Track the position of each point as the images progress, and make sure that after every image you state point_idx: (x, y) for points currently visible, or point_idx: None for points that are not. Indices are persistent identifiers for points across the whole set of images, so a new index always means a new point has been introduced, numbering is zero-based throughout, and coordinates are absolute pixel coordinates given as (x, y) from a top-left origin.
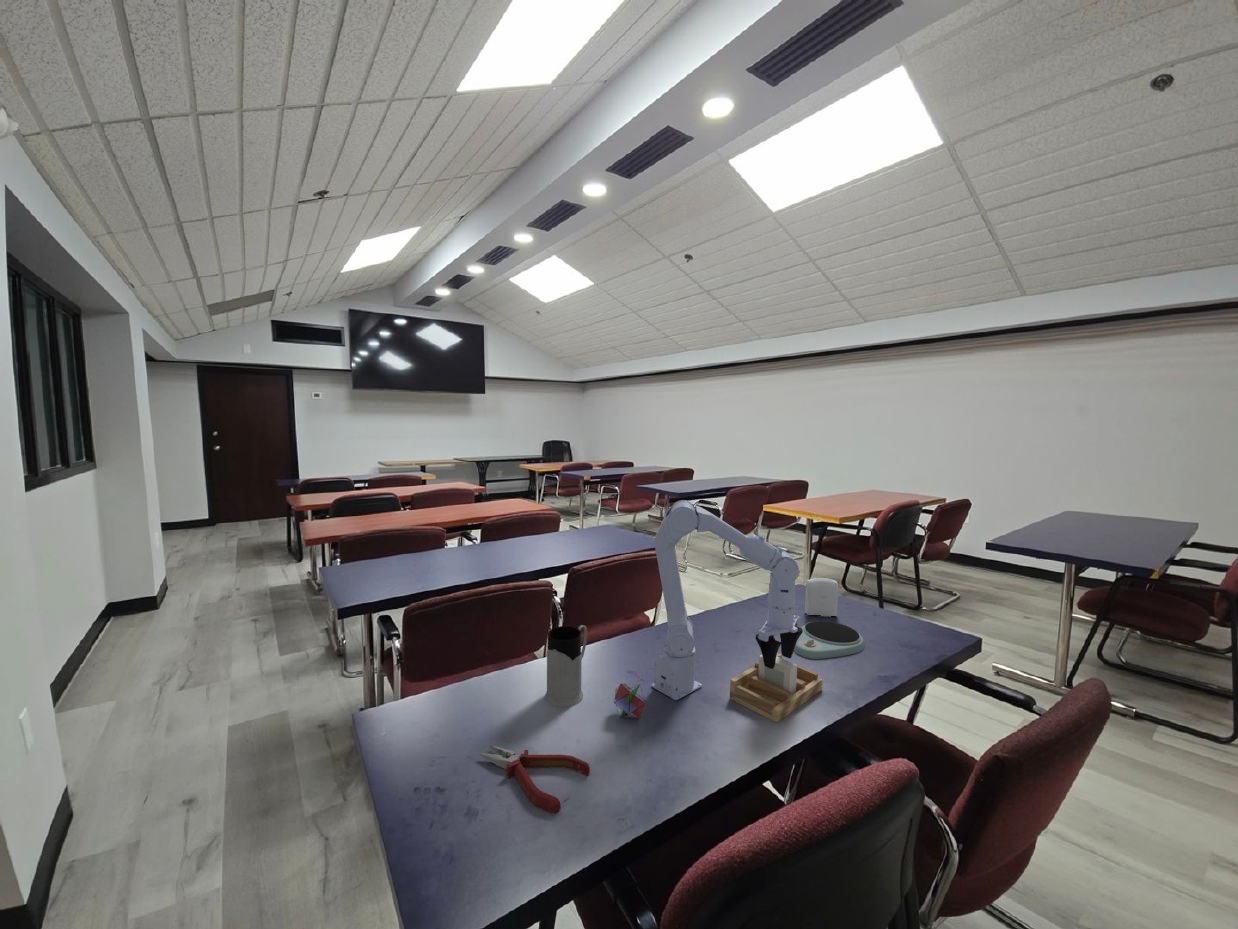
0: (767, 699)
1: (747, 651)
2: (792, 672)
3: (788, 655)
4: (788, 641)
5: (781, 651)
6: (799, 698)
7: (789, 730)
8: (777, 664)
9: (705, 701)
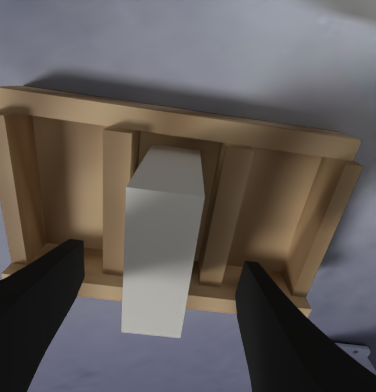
0: (336, 194)
1: None
2: (180, 183)
3: (77, 257)
4: (25, 333)
5: (75, 295)
6: (197, 115)
7: (360, 82)
8: (193, 261)
9: (331, 306)
